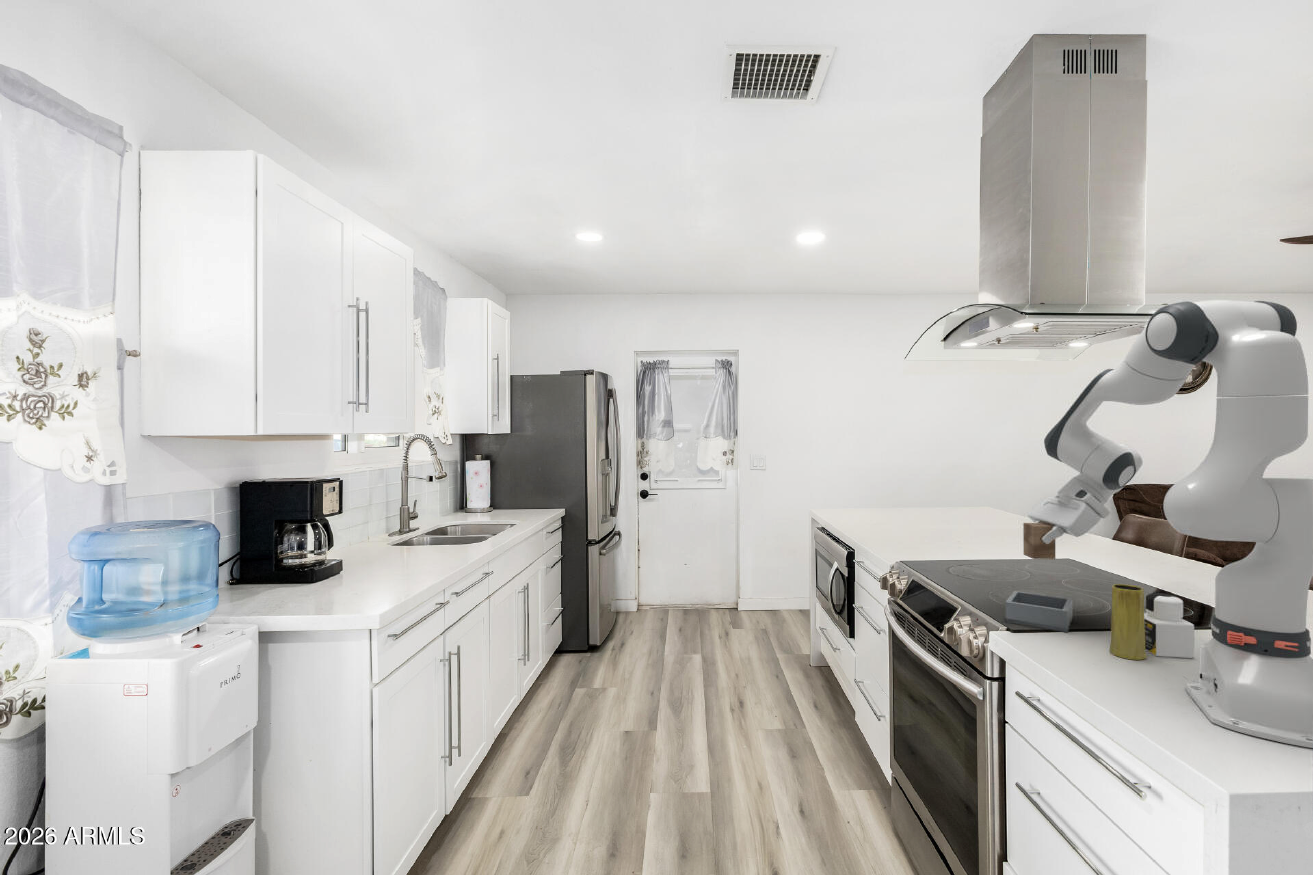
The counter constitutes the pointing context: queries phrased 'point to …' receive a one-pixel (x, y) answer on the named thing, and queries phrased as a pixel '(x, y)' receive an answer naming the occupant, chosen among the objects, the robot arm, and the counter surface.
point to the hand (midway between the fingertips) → (1036, 539)
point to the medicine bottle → (1167, 627)
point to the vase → (1128, 622)
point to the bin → (1039, 611)
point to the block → (1037, 541)
